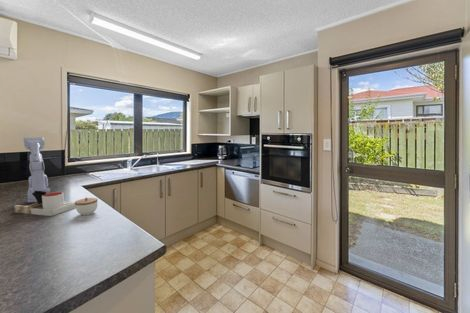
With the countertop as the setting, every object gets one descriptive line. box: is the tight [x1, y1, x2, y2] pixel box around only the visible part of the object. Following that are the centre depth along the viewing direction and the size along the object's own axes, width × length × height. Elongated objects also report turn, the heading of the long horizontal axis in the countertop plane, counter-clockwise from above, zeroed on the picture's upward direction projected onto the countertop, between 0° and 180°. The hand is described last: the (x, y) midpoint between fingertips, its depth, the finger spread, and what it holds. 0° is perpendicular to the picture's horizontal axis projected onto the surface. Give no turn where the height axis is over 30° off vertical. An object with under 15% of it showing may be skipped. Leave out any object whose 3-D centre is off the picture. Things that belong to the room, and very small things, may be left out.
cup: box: [42, 191, 65, 210], centre depth 131 cm, size 10×10×10 cm
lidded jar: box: [74, 196, 99, 216], centre depth 125 cm, size 11×11×9 cm
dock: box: [30, 201, 76, 217], centre depth 131 cm, size 15×15×3 cm
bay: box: [13, 202, 43, 215], centre depth 134 cm, size 12×15×4 cm
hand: (40, 203), depth 133 cm, fingers closed
